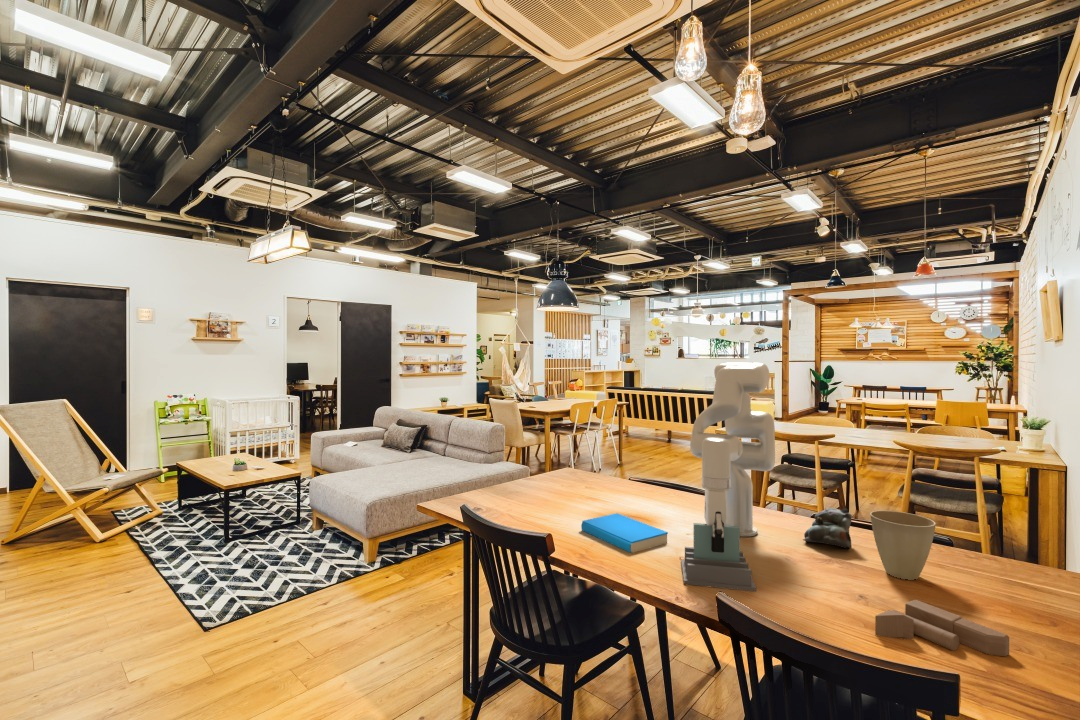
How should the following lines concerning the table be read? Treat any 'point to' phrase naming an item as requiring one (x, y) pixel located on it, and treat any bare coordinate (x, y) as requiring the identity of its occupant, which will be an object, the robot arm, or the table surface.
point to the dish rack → (717, 572)
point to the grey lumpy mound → (831, 528)
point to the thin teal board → (703, 543)
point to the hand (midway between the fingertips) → (716, 546)
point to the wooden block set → (940, 629)
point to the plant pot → (902, 542)
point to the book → (624, 532)
